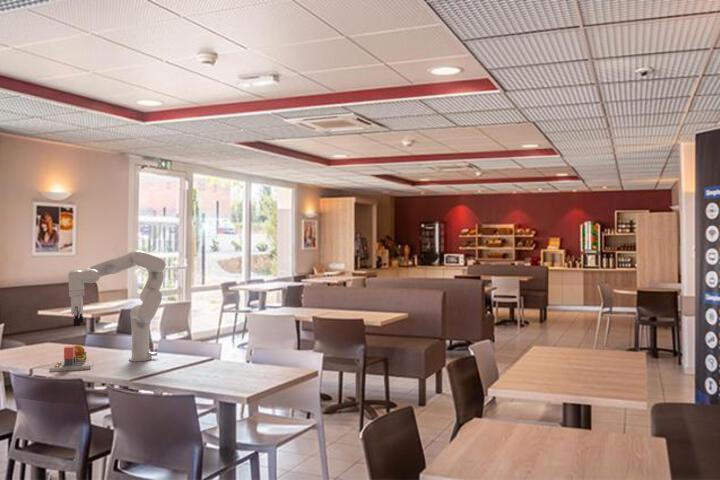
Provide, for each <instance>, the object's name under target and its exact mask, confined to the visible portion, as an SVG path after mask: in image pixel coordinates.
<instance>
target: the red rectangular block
mask: <svg viewBox="0 0 720 480" xmlns="http://www.w3.org/2000/svg"><path fill="white" fill-rule="evenodd" d="M75 346H76V345H68V346H64V347H63V359H73V358H74V357H75Z"/></svg>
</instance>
